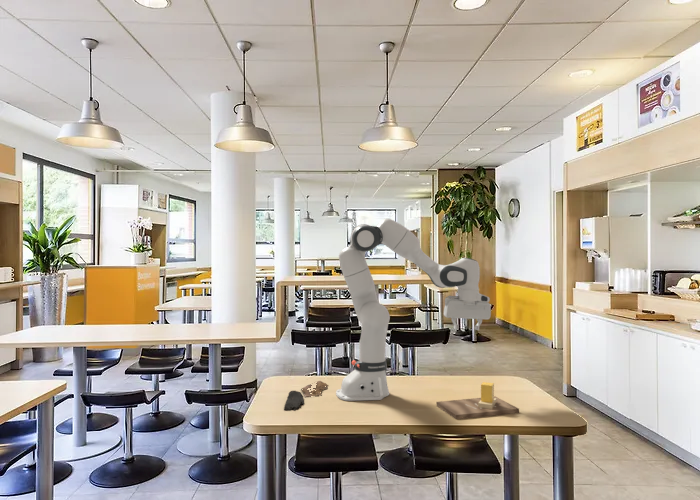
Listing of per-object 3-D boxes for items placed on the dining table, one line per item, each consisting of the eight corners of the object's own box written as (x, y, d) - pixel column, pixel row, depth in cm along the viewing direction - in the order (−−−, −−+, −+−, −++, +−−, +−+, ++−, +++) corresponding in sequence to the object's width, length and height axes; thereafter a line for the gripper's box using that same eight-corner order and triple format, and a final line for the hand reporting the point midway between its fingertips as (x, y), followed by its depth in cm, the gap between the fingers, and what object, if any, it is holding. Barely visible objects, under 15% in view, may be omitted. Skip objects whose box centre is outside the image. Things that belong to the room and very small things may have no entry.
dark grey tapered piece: (302, 412, 186) (302, 404, 187) (283, 412, 186) (283, 404, 186) (307, 395, 209) (307, 387, 209) (289, 395, 209) (289, 387, 209)
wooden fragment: (318, 399, 202) (318, 396, 202) (293, 397, 205) (293, 394, 205) (333, 382, 228) (333, 380, 228) (311, 381, 230) (311, 379, 230)
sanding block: (491, 409, 183) (491, 387, 183) (478, 407, 186) (478, 385, 186) (496, 402, 191) (496, 381, 191) (483, 400, 194) (483, 380, 194)
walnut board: (455, 419, 177) (455, 415, 177) (436, 405, 192) (436, 401, 192) (519, 412, 184) (519, 408, 184) (495, 400, 199) (495, 396, 199)
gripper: (448, 295, 203) (446, 329, 202) (493, 298, 208) (491, 331, 207) (442, 294, 209) (440, 327, 209) (485, 297, 214) (484, 329, 213)
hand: (466, 329), depth 208 cm, fingers open, 8 cm apart
